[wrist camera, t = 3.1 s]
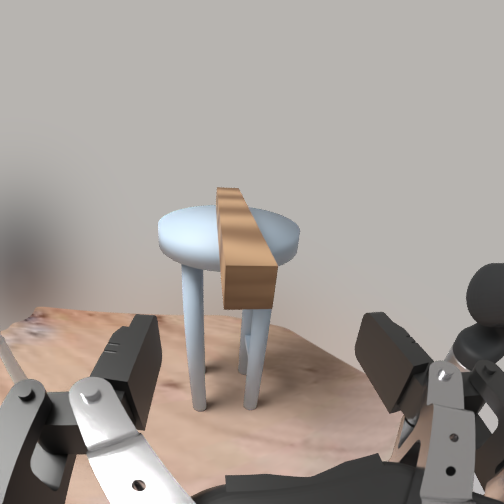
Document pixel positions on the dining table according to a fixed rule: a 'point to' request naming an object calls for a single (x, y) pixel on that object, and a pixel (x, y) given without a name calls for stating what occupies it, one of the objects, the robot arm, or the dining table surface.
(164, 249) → the stool
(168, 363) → the dining table surface
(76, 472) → the dining table surface
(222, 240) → the thin wooden plank
